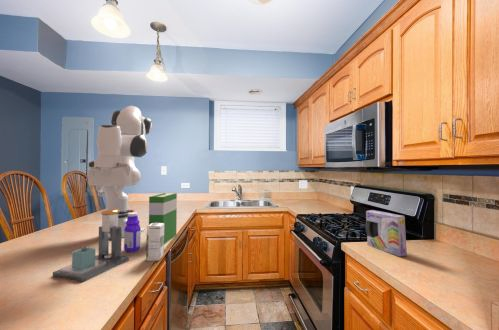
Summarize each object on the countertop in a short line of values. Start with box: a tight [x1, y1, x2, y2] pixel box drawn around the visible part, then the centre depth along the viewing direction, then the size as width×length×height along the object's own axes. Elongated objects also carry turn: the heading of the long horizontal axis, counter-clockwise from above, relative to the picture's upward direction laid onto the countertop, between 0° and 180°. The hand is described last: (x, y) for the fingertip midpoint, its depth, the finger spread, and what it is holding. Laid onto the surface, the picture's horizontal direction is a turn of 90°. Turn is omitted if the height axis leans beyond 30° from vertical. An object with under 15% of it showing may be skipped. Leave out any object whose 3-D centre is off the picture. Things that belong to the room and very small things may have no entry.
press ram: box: [100, 209, 119, 242], centre depth 97 cm, size 6×6×12 cm
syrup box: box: [145, 223, 165, 262], centre depth 100 cm, size 6×6×14 cm
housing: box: [71, 245, 96, 269], centre depth 87 cm, size 5×5×7 cm
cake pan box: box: [365, 209, 408, 257], centre depth 111 cm, size 19×5×18 cm, turn 18°
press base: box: [52, 225, 130, 283], centre depth 90 cm, size 20×14×14 cm
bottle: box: [123, 211, 142, 253], centre depth 110 cm, size 7×6×17 cm
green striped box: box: [148, 192, 178, 245], centre depth 127 cm, size 18×7×24 cm, turn 176°
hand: (109, 196), depth 97 cm, fingers open, 8 cm apart
